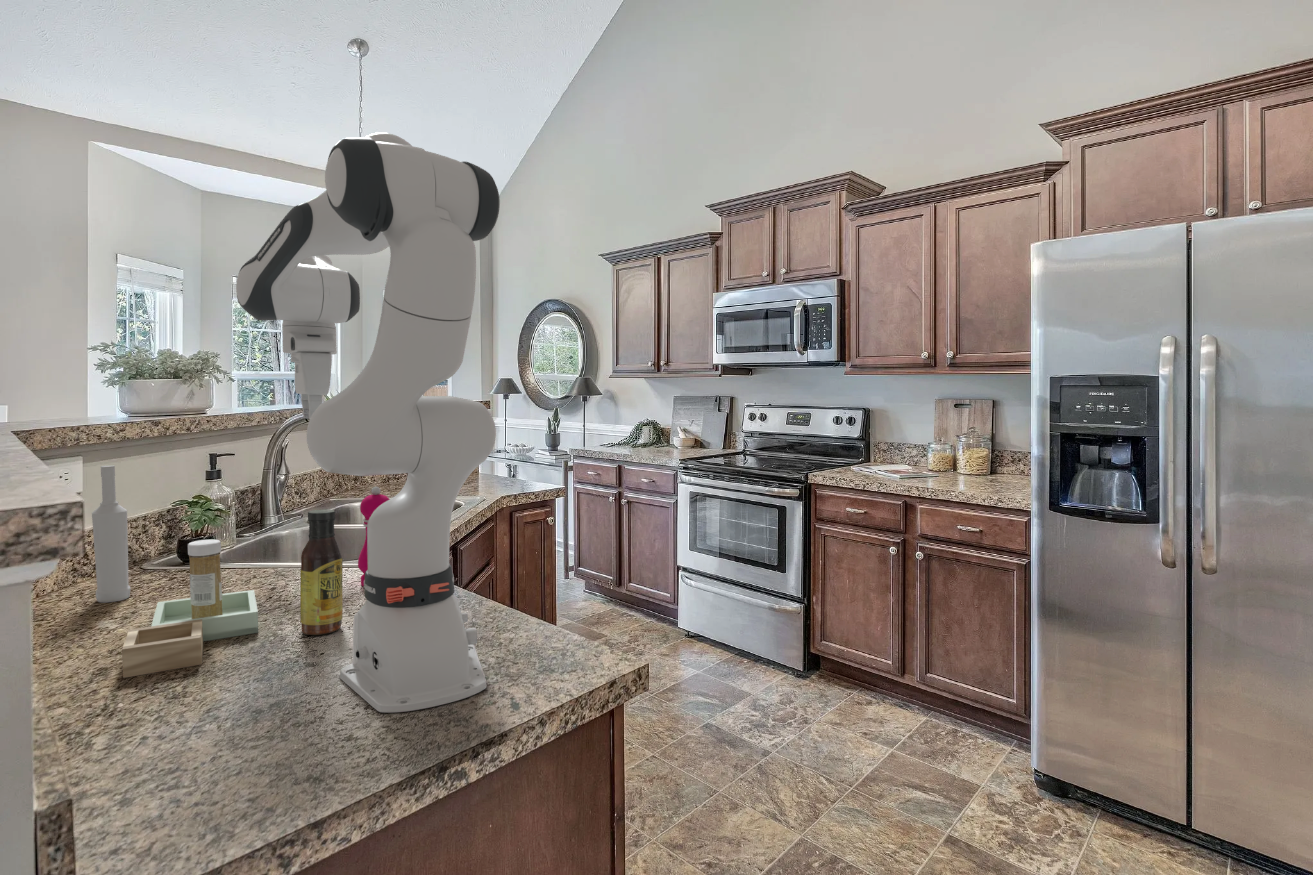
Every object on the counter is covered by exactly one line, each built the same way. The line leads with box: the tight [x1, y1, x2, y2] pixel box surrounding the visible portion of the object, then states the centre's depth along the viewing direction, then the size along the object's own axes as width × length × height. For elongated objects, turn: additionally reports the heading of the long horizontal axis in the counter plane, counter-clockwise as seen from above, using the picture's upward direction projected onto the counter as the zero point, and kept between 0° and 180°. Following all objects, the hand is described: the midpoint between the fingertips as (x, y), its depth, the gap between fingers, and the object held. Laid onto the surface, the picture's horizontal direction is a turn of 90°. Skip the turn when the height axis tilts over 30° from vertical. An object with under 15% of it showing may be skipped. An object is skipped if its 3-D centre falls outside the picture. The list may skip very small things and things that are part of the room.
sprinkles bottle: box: [187, 538, 223, 619], centre depth 113 cm, size 5×5×14 cm
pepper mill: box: [357, 486, 390, 588], centre depth 139 cm, size 7×7×20 cm
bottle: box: [91, 465, 131, 604], centre depth 127 cm, size 5×5×25 cm
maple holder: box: [121, 619, 204, 679], centre depth 100 cm, size 9×9×4 cm
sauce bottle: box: [299, 509, 344, 636], centre depth 112 cm, size 6×6×20 cm
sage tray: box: [150, 589, 259, 642], centre depth 113 cm, size 14×14×4 cm
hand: (311, 419), depth 126 cm, fingers open, 8 cm apart
